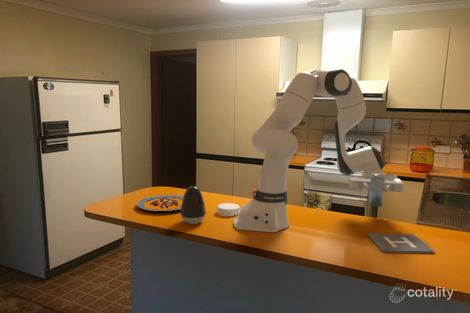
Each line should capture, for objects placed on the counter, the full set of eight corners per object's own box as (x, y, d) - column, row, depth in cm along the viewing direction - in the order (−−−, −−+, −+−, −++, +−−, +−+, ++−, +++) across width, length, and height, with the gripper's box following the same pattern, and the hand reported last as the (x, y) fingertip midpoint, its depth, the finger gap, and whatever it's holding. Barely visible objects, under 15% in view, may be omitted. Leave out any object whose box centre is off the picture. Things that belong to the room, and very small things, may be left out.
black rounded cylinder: (176, 225, 145) (175, 188, 143) (187, 217, 155) (186, 182, 152) (199, 228, 142) (199, 190, 140) (209, 219, 152) (209, 184, 149)
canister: (371, 206, 138) (373, 175, 136) (367, 202, 143) (369, 173, 141) (384, 206, 138) (387, 176, 136) (379, 203, 143) (382, 173, 141)
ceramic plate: (125, 207, 168) (125, 201, 167) (167, 196, 188) (167, 190, 188) (163, 219, 153) (163, 212, 152) (204, 205, 173) (204, 199, 172)
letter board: (383, 252, 120) (383, 250, 120) (367, 235, 135) (367, 233, 135) (434, 253, 120) (434, 251, 120) (413, 236, 135) (413, 234, 135)
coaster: (229, 218, 154) (229, 210, 153) (212, 213, 160) (212, 206, 160) (244, 213, 162) (244, 205, 161) (227, 208, 168) (227, 201, 167)
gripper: (348, 172, 154) (349, 178, 141) (400, 175, 148) (406, 182, 135) (347, 186, 155) (348, 194, 142) (399, 190, 149) (405, 199, 136)
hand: (377, 188), depth 139 cm, fingers closed on canister, 5 cm apart
